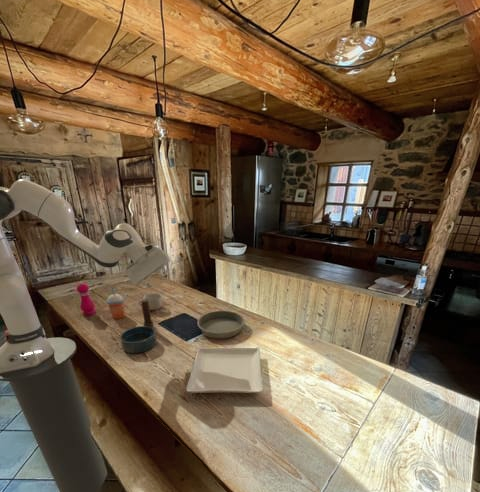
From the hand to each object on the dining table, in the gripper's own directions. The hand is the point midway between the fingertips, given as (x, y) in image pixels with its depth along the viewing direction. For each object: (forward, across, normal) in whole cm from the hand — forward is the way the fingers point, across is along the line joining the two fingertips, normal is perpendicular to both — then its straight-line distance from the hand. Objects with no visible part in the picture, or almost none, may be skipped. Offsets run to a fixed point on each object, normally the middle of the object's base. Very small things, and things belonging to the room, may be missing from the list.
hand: (158, 281), depth 118 cm
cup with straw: (-7, -41, +31) cm, 52 cm away
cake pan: (+33, +6, +24) cm, 41 cm away
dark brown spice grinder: (+11, -25, +21) cm, 34 cm away
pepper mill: (-20, -56, +33) cm, 68 cm away
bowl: (+18, -26, +6) cm, 32 cm away
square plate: (+50, +5, -9) cm, 51 cm away
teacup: (-2, -26, +42) cm, 50 cm away
